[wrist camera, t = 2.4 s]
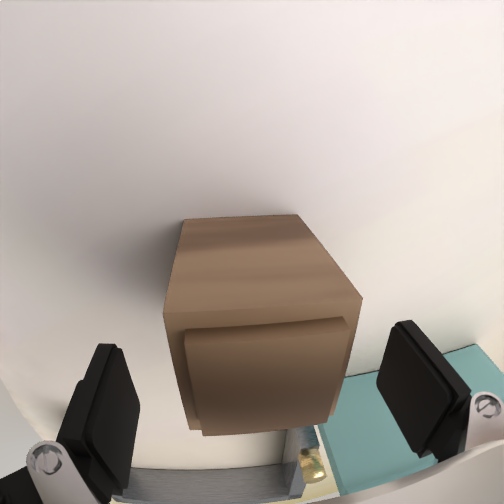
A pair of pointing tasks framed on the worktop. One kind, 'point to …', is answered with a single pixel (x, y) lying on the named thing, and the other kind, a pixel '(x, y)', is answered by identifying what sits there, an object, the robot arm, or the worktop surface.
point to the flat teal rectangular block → (388, 426)
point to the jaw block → (257, 324)
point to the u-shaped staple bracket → (233, 479)
